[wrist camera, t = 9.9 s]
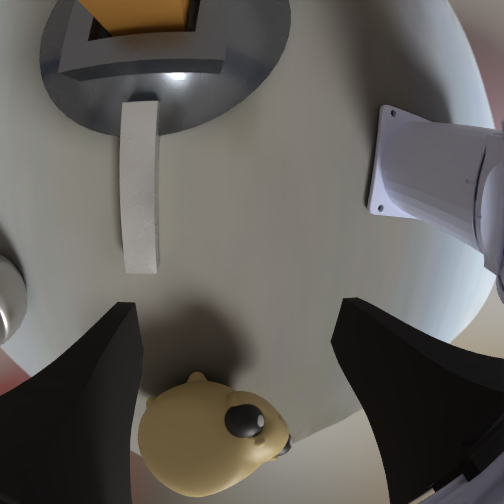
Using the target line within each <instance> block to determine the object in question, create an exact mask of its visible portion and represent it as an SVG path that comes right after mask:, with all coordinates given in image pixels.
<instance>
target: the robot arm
mask: <svg viewBox="0 0 504 504" xmlns="http://www.w3.org/2000/svg"><path fill="white" fill-rule="evenodd" d="M391 111H392V112H393V116H392V115H391ZM501 125H502V129H503V131H500V130H495V129H489V128H482V127H475V126H468V125H459V124H449V123H437V122H431V121H429V120H426V119H424V118H421V117H419V116H416V115H414V114H411V113H409V112H406V111H404V110H401V109H398V108H395V107H393V106H390V105H382V106H381V107H380V113H379V124H378V135H377V144H376V152H375V160H374V167H373V174H372V181H371V187H370V194H369V199H368V205H367V209H368V211H369V212H370V213H372V214H375V215H386V216H395V217H405V218H414V219H420V220H422V221H424V222H426V223H428V224H430V225H432V226H434V227H436V228H438V229H440V230H441V231H443V232H445V233H447V234H449V235H451V236H453V237H454V238H456V239H458V240H460V241H462V242H463V243H465V244H467V245H469V246H471V247H472V248H474V249H476V250H477V251H479V252H481V253H482V254H484V267H485V268H486V269H488V270H489V271H491V272H492V273H494V274H495V275H497V277H496V286H497V292H498V295H499V297H500V299H501V301H502V302H503V304H504V118H503V119H502V121H501ZM380 205H381V208H380V209H379V210H378V207H379V206H380ZM331 344H332V347H333V350H334V353H335V355H336V358H337V360H338V363H339V365H340V367H341V369H342V371H343V372H344V374H345V376H346V378H347V380H348V382H349V383H350V385H351V387H352V389H353V391H354V392H355V394H356V396H357V398H358V400H359V401H360V403H361V405H362V407H363V409H364V411H365V413H366V415H367V417H368V420H369V422H370V425H371V428H372V430H373V433H374V436H375V439H376V442H377V445H378V448H379V451H380V454H381V458H382V462H383V466H384V470H385V474H386V479H387V484H388V490H389V498H390V504H410V503H412V502H414V501H415V500H417V499H419V498H420V497H422V496H424V495H425V494H427V493H429V492H430V491H432V490H433V489H434V491H435V493H434V494H432V495H431V496H429V497H428V498H426V499H424V500H423V501H421V502H420V503H418V504H504V359H502V358H496V357H491V356H486V355H482V354H478V353H474V352H471V351H467V350H465V349H461V348H459V347H456V346H453V345H451V344H448V343H446V342H443V341H441V340H438V339H436V338H434V337H432V336H430V335H428V334H426V333H424V332H422V331H420V330H418V329H416V328H414V327H412V326H410V325H408V324H406V323H404V322H403V321H401V320H399V319H397V318H396V317H394V316H392V315H390V314H388V313H387V312H385V311H383V310H381V309H380V308H378V307H376V306H374V305H372V304H370V303H368V302H366V301H364V300H362V299H360V298H357V297H356V298H343V301H342V305H341V308H340V312H339V315H338V319H337V322H336V326H335V329H334V332H333V335H332V339H331ZM142 361H143V345H142V340H141V334H140V329H139V323H138V317H137V311H136V305H135V303H132V302H117V303H116V304H115V305H114V306H113V307H112V308H111V309H110V310H109V311H108V312H107V313H106V314H105V315H104V316H103V317H102V318H101V319H100V320H99V321H98V322H97V323H96V324H95V325H93V326H92V327H91V328H90V329H89V330H88V331H87V332H86V333H85V334H84V335H83V336H82V337H81V338H80V339H79V340H78V341H76V342H75V343H74V344H73V345H72V346H71V347H70V348H69V349H68V350H66V351H65V352H64V353H63V354H62V355H61V356H60V357H58V358H57V359H56V360H55V361H53V362H52V363H51V364H49V365H48V366H47V367H45V368H44V369H43V370H41V371H40V372H39V373H37V374H36V375H34V376H33V377H31V378H30V379H28V380H26V381H25V382H23V383H22V384H20V385H19V386H17V387H15V388H14V389H12V390H10V391H8V392H7V393H5V394H3V395H1V396H0V504H132V499H131V486H130V436H131V427H132V421H133V416H134V410H135V405H136V399H137V394H138V389H139V384H140V379H141V372H142Z"/></svg>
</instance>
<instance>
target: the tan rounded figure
mask: <svg viewBox="0 0 504 504" xmlns="http://www.w3.org/2000/svg"><path fill="white" fill-rule="evenodd" d="M146 406H147V409H146V410H145V412H144V414H143V416H142V418H141V421H140V424H139V429H138V445H139V449H140V453H141V455H142V458H143V460H144V462H145V464H146V465H147V467H148V468H149V469H150V471H151V472H152V473H153V475H154V476H155V477H156V478H157V479H158V480H159V481H161V482H162V483H163V484H164V485H165V486H167V487H168V488H170V489H172V490H174V491H175V492H177V493H180V494H183V495H186V496H191V497H201V496H207V495H211V494H214V493H217V492H219V491H222V490H224V489H226V488H229V487H231V486H233V485H234V484H236V483H238V482H239V481H241V480H243V479H244V478H246V477H247V476H248V475H250V474H251V473H252V472H253V471H254V470H256V469H257V468H258V467H259V466H260V465H261V464H263V463H264V462H265V461H267V460H269V461H274V460H277V458H278V457H277V456H281V455H283V454H285V453H287V452H288V451H289V450H290V448H291V446H292V438H291V435H290V434H289V428H288V426H287V424H286V422H285V420H284V419H283V417H282V416H281V415H280V413H279V412H278V411H277V410H276V409H275V408H274V407H273V406H272V405H271V404H270V403H269V402H268V401H266V400H265V399H263V398H262V397H260V396H258V395H256V394H253V393H250V392H245V391H235V390H234V389H232V388H230V387H228V386H226V385H223V384H220V383H216V382H210V381H207V379H206V377H205V375H204V374H203V373H201V372H194V373H192V374H191V375H190V376H189V379H188V381H187V383H185V384H182V385H179V386H176V387H173V388H171V389H169V390H167V391H165V392H163V393H162V394H160V395H159V396H158V397H150V398H149V399H148V400H147V402H146Z"/></svg>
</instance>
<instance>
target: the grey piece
mask: <svg viewBox="0 0 504 504" xmlns="http://www.w3.org/2000/svg"><path fill="white" fill-rule="evenodd" d="M290 24H291V12H290V5H289V0H192V3H191V9H190V15H189V21H188V27H187V32H158V33H143V34H133V35H124V36H116V37H113V36H112V35H111V34H110V33H109V32H108V31H107V30H106V29H105V28H104V27H103V26H102V25H101V24H100V23H99V21H98V20H97V19H96V18H95V17H94V16H93V15H92V14H91V13H90V12H89V11H88V10H87V9H86V8H85V7H84V6H83V5H82V4H81V3H80V2H79V1H78V0H59V1H58V2H57V4H56V5H55V7H54V9H53V10H52V12H51V15H50V17H49V19H48V21H47V23H46V26H45V29H44V32H43V36H42V41H41V46H40V69H41V75H42V79H43V82H44V85H45V88H46V90H47V92H48V94H49V96H50V98H51V99H52V100H53V102H54V103H55V104H56V106H57V107H58V108H59V109H60V110H61V111H62V112H63V113H64V114H65V115H66V116H67V117H69V118H70V119H72V120H73V121H75V122H76V123H78V124H79V125H82V126H84V127H86V128H88V129H91V130H93V131H97V132H100V133H104V134H107V135H114V136H120V209H121V226H122V239H123V250H124V260H125V269H126V273H157V272H158V268H159V265H160V250H159V221H158V172H159V143H160V136H161V135H166V134H171V133H176V132H180V131H183V130H186V129H190V128H193V127H196V126H198V125H201V124H203V123H205V122H208V121H210V120H212V119H214V118H216V117H218V116H220V115H221V114H223V113H225V112H227V111H228V110H230V109H231V108H233V107H234V106H236V105H237V104H239V103H240V102H241V101H243V100H244V99H245V98H246V97H247V96H248V95H250V94H251V93H252V92H253V91H254V90H255V89H256V88H258V86H259V85H260V84H261V83H262V82H263V81H264V80H265V79H266V78H267V77H268V75H269V74H270V73H271V71H272V70H273V68H274V67H275V65H276V64H277V63H278V61H279V59H280V57H281V55H282V53H283V51H284V49H285V45H286V42H287V39H288V36H289V30H290Z"/></svg>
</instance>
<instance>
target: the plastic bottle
mask: <svg viewBox="0 0 504 504" xmlns="http://www.w3.org/2000/svg"><path fill="white" fill-rule="evenodd" d="M26 311H27V292H26V287H25V284H24V281H23V279H22V277H21V275H20V273H19V271H18V270H17V268H16V267H15V266H14V265H13V263H12V262H11V261H9V260H8V259H7V258H5V257H4V256H2V255H0V346H1V345H2V344H4V343H5V342H6V341H7V340H8V339H9V338H10V337H11V336H12V335H13V334H14V333H15V332H16V331H17V330H18V329H19V328H20V326H21V323H22V321H23V319H24V317H25V314H26Z"/></svg>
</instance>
